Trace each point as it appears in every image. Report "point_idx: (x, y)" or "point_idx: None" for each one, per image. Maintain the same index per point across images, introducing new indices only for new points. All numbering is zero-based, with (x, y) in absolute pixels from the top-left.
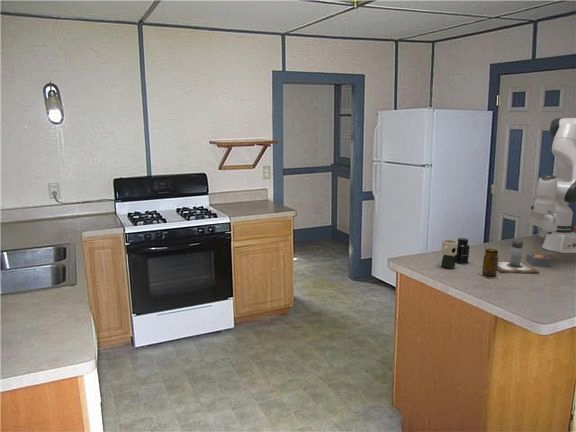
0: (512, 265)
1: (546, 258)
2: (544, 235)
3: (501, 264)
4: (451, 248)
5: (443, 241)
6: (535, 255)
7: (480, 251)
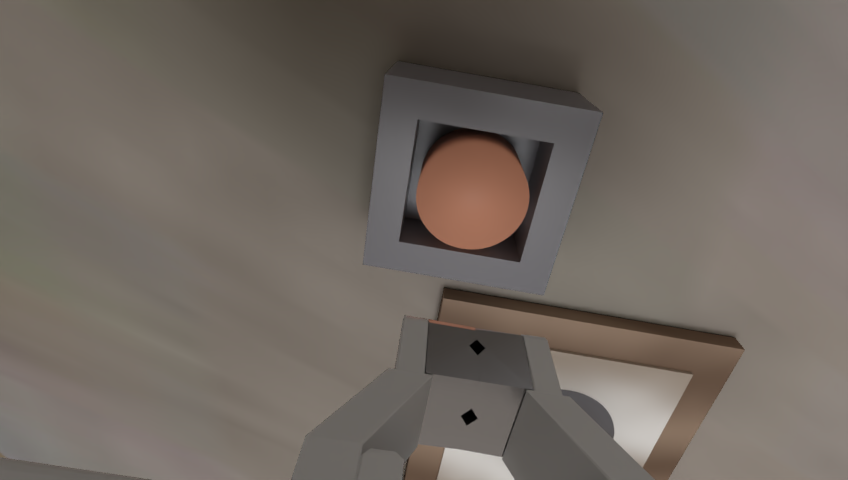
0: None
1: (576, 169)
2: (545, 374)
3: None
4: None
5: None
6: (469, 244)
7: (90, 405)
